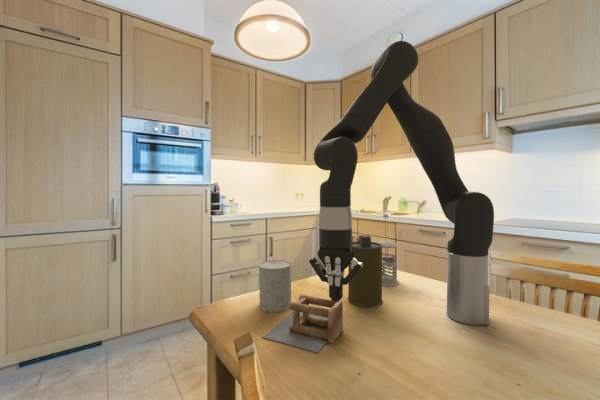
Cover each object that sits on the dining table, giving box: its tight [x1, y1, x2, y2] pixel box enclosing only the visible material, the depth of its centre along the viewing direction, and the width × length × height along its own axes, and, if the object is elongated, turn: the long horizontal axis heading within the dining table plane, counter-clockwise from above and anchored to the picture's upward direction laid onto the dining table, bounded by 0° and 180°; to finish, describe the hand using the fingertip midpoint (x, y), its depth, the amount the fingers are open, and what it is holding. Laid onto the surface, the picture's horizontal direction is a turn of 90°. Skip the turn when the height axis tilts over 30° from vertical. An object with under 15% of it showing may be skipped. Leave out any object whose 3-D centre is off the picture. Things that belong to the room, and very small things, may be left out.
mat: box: [262, 311, 328, 354], centre depth 68 cm, size 14×16×1 cm
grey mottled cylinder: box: [258, 259, 292, 313], centre depth 82 cm, size 10×10×12 cm
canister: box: [347, 234, 384, 308], centre depth 85 cm, size 11×10×20 cm
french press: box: [376, 213, 400, 287], centre depth 102 cm, size 10×12×25 cm
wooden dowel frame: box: [288, 294, 344, 344], centre depth 67 cm, size 7×7×11 cm
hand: (335, 300), depth 64 cm, fingers closed
